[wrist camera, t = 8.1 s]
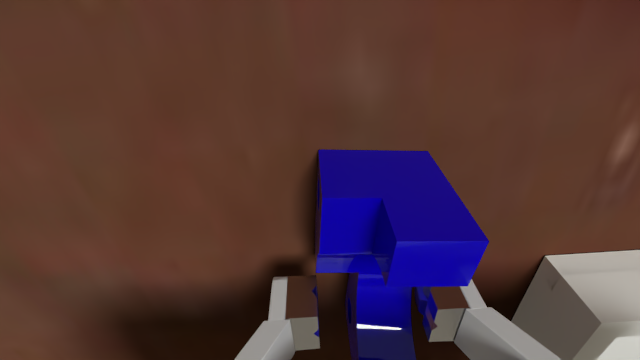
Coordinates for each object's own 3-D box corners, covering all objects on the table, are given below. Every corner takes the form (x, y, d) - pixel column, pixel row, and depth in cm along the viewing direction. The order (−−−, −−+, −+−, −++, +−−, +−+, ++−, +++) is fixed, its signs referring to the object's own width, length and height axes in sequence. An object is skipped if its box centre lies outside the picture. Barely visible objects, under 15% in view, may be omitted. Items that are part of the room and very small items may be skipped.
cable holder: (318, 149, 10) (325, 241, 6) (427, 150, 10) (489, 241, 7) (312, 304, 14) (314, 405, 11) (387, 303, 14) (412, 402, 11)
